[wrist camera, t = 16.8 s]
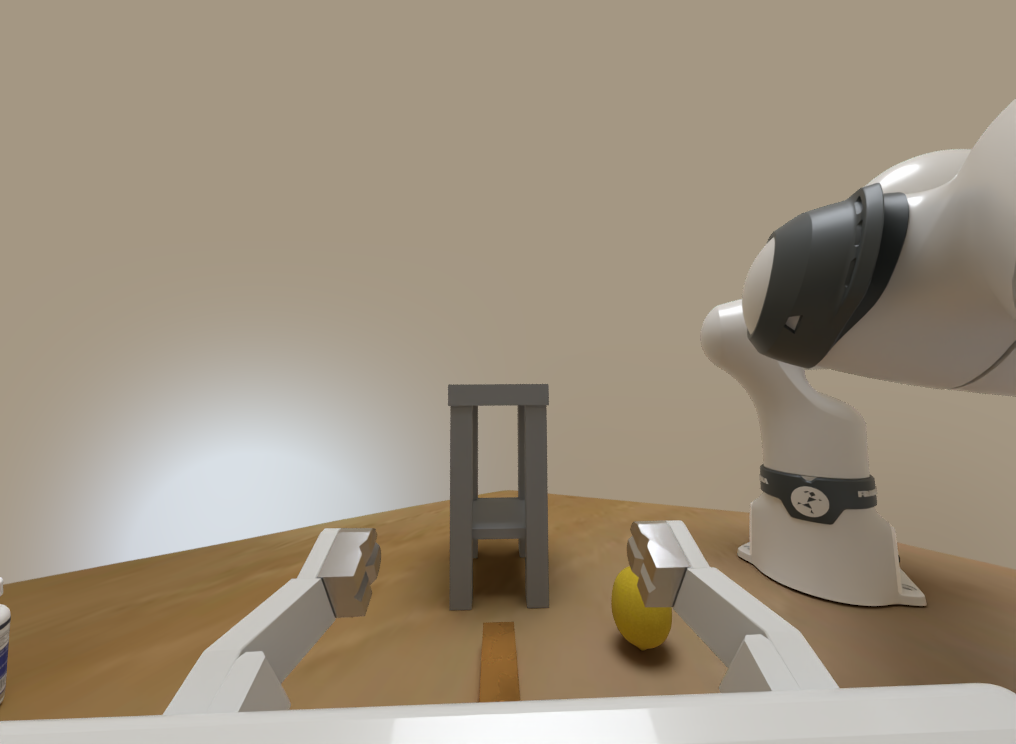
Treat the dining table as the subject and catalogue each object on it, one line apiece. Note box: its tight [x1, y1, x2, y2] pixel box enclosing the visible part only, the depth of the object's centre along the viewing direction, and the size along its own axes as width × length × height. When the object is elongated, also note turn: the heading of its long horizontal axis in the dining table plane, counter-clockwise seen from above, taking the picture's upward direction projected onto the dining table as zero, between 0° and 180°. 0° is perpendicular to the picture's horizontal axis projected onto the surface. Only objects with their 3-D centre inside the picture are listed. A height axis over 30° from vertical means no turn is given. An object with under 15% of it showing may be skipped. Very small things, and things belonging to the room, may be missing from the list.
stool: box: [448, 384, 549, 610], centre depth 50 cm, size 16×12×26 cm
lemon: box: [612, 566, 672, 650], centre depth 35 cm, size 6×6×8 cm
